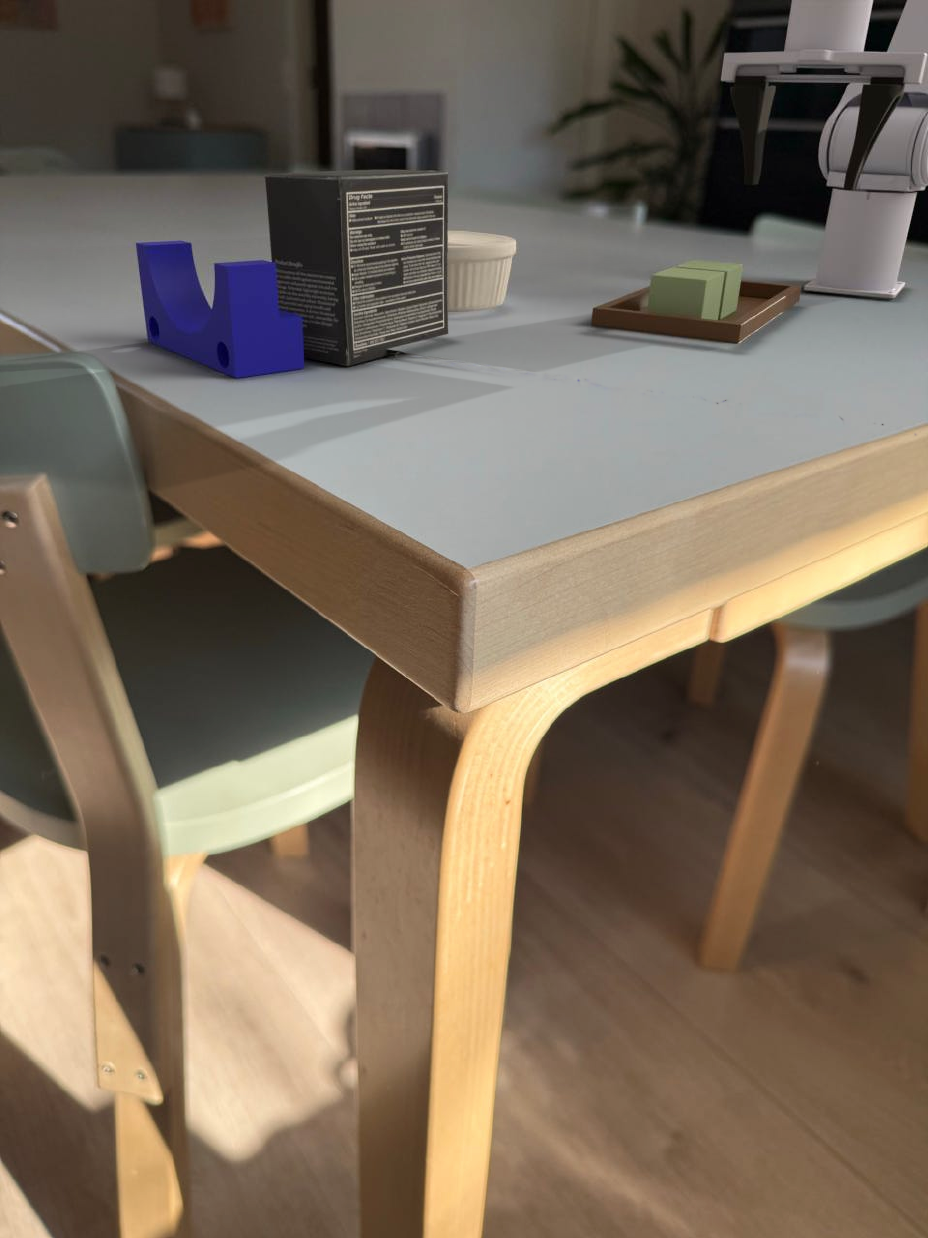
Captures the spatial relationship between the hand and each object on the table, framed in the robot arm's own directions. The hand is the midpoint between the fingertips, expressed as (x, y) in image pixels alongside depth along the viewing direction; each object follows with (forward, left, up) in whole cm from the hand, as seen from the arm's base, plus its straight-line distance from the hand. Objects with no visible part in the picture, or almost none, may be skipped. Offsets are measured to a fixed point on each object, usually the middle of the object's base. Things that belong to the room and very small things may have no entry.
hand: (799, 186), depth 76 cm
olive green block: (+9, -4, -9) cm, 13 cm away
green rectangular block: (+15, -4, -9) cm, 18 cm away
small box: (+33, -20, -10) cm, 40 cm away
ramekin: (+17, -23, -10) cm, 30 cm away
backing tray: (+9, -4, -9) cm, 14 cm away
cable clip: (+40, -26, -10) cm, 49 cm away
